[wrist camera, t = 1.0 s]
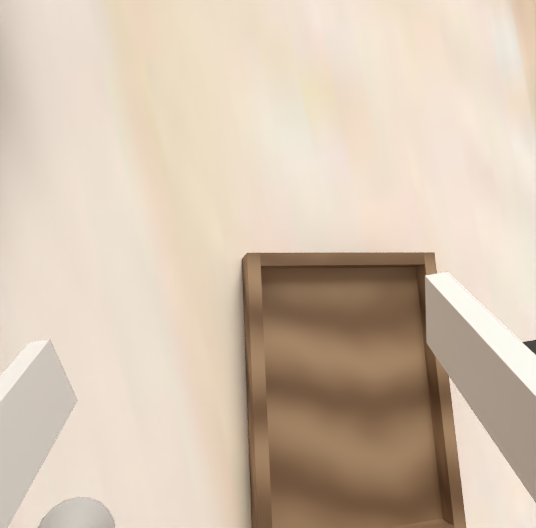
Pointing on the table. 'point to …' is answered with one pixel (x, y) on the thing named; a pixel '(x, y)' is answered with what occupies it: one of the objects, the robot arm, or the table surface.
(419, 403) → the tray
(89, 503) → the chalice
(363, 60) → the table surface
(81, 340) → the table surface
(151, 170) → the table surface
